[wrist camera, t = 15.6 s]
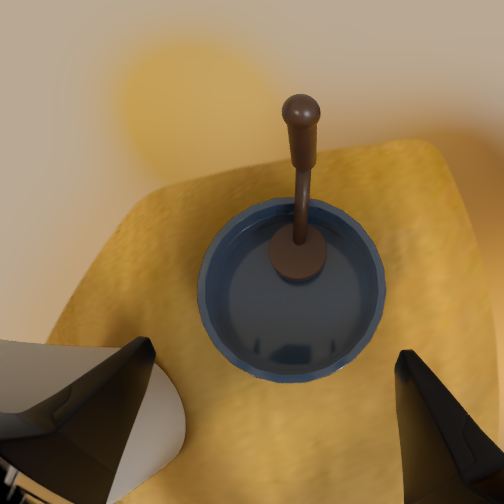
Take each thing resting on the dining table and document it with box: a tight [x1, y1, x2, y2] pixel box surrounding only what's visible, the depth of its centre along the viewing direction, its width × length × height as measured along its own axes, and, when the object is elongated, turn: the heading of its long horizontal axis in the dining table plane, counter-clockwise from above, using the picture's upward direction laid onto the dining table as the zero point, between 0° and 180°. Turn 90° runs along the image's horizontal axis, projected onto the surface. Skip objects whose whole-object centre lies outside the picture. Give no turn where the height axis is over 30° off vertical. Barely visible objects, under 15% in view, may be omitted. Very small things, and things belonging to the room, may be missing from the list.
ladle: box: [269, 94, 327, 282], centre depth 18 cm, size 8×4×12 cm, turn 170°
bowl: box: [197, 197, 386, 383], centre depth 21 cm, size 13×13×4 cm
